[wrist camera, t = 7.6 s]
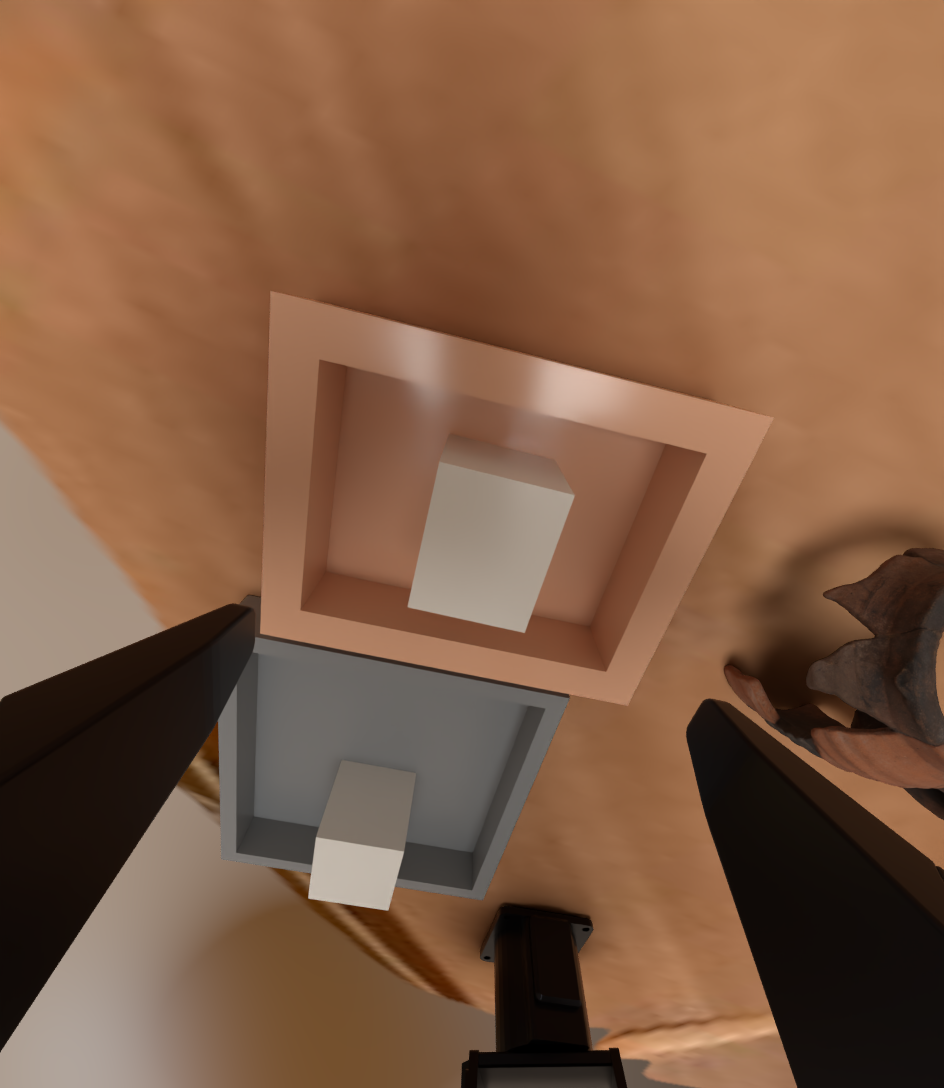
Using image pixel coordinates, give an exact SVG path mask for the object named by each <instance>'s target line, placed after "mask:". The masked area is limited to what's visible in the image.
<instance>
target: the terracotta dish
mask: <svg viewBox="0 0 944 1088" xmlns="http://www.w3.org/2000/svg"><path fill="white" fill-rule="evenodd" d="M773 419H774V418H773V417H769V416H766V415H762V414H759V413H755V412H752V411H748V410H745V409H741V408H737V407H734V406H730V405H727V404H723V403H720V402H716V401H712V400H708V399H704V398H700V397H696V396H692V395H689V394H685V393H681V392H677V391H673V390H669V389H665V388H661V387H657V386H653V385H649V384H645V383H641V382H637V381H633V380H629V379H625V378H621V377H617V376H613V375H609V374H606V373H602V372H598V371H594V370H590V369H586V368H582V367H578V366H574V365H570V364H566V363H562V362H558V361H554V360H550V359H546V358H542V357H538V356H534V355H530V354H527V353H523V352H519V351H515V350H511V349H507V348H503V347H499V346H495V345H491V344H487V343H483V342H479V341H475V340H471V339H467V338H463V337H459V336H455V335H451V334H447V333H444V332H440V331H436V330H432V329H428V328H424V327H420V326H416V325H412V324H408V323H404V322H400V321H396V320H392V319H388V318H384V317H380V316H376V315H372V314H368V313H365V312H361V311H357V310H353V309H349V308H345V307H341V306H337V305H333V304H329V303H325V302H321V301H317V300H313V299H308V298H303V297H298V296H294V295H289V294H284V293H280V292H275V291H271V294H270V327H269V360H268V393H267V426H266V459H265V492H264V525H263V557H262V590H261V623H260V634H264V635H269V636H275V637H280V638H285V639H290V640H295V641H300V642H305V643H310V644H315V645H321V646H326V647H331V648H336V649H341V650H346V651H351V652H356V653H361V654H366V655H372V656H377V657H382V658H387V659H392V660H397V661H402V662H407V663H412V664H417V665H423V666H428V667H433V668H438V669H443V670H448V671H453V672H458V673H463V674H469V675H474V676H479V677H484V678H489V679H494V680H499V681H504V682H509V683H514V684H520V685H525V686H530V687H535V688H540V689H545V690H550V691H555V692H560V693H565V694H571V695H576V696H581V697H586V698H591V699H596V700H601V701H606V702H611V703H617V704H622V705H627V706H628V704H629V702H630V700H631V698H632V696H633V694H634V692H635V690H636V688H637V686H638V684H639V682H640V680H641V678H642V676H643V674H644V672H645V670H646V668H647V666H648V664H649V662H650V661H651V659H652V657H653V655H654V653H655V651H656V649H657V647H658V645H659V643H660V641H661V639H662V637H663V635H664V633H665V631H666V629H667V627H668V625H669V623H670V621H671V619H672V617H673V615H674V613H675V611H676V609H677V607H678V605H679V604H680V602H681V600H682V598H683V596H684V594H685V592H686V590H687V588H688V586H689V584H690V582H691V580H692V578H693V576H694V574H695V572H696V570H697V568H698V566H699V564H700V562H701V560H702V558H703V556H704V554H705V552H706V550H707V549H708V547H709V545H710V543H711V541H712V539H713V537H714V535H715V533H716V531H717V529H718V527H719V525H720V523H721V521H722V519H723V517H724V515H725V513H726V511H727V509H728V507H729V505H730V503H731V501H732V499H733V497H734V495H735V493H736V492H737V490H738V488H739V486H740V484H741V482H742V480H743V478H744V476H745V474H746V472H747V470H748V468H749V466H750V464H751V462H752V460H753V458H754V456H755V454H756V452H757V450H758V448H759V446H760V444H761V442H762V440H763V438H764V436H765V435H766V433H767V431H768V429H769V427H770V425H771V423H772V421H773ZM449 433H450V434H454V435H458V436H462V437H466V438H470V439H474V440H478V441H482V442H486V443H489V444H493V445H497V446H501V447H505V448H509V449H513V450H517V451H521V452H525V453H529V454H533V455H537V456H541V457H545V458H549V459H552V460H555V461H556V463H557V465H558V467H559V468H560V470H561V472H562V474H563V475H564V477H565V479H566V481H567V482H568V484H569V486H570V488H571V489H572V491H573V493H574V495H575V496H574V499H573V502H572V505H571V507H570V510H569V513H568V516H567V518H566V521H565V524H564V527H563V529H562V532H561V535H560V538H559V540H558V543H557V546H556V548H555V551H554V554H553V557H552V559H551V562H550V565H549V568H548V570H547V573H546V576H545V579H544V581H543V584H542V587H541V590H540V592H539V595H538V598H537V601H536V603H535V606H534V609H533V611H532V614H531V617H530V620H529V622H528V625H527V628H526V631H525V633H523V632H518V631H513V630H509V629H504V628H500V627H495V626H491V625H486V624H482V623H477V622H473V621H468V620H463V619H459V618H454V617H450V616H445V615H441V614H436V613H432V612H427V611H422V610H418V609H413V608H409V607H408V602H409V597H410V593H411V588H412V584H413V579H414V575H415V570H416V566H417V561H418V556H419V552H420V547H421V543H422V538H423V534H424V529H425V524H426V520H427V515H428V511H429V506H430V502H431V497H432V493H433V488H434V483H435V479H436V474H437V470H438V465H439V461H440V458H441V455H442V453H443V450H444V447H445V444H446V441H447V438H448V436H449Z"/></svg>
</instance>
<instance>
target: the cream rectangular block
mask: <svg viewBox="0 0 944 1088" xmlns="http://www.w3.org/2000/svg"><path fill="white" fill-rule="evenodd" d="M574 496H575V495H574V493H573V491H572V489H571V488H570V486H569V484H568V482H567V481H566V479H565V477H564V475H563V474H562V472H561V470H560V468H559V467H558V465H557V463H556V461H555V460H552V459H549V458H545V457H541V456H537V455H533V454H529V453H525V452H521V451H517V450H513V449H509V448H505V447H501V446H497V445H493V444H489V443H486V442H482V441H478V440H474V439H470V438H466V437H462V436H458V435H454V434H450V433H449V436H448V438H447V441H446V444H445V447H444V450H443V453H442V455H441V458H440V461H439V465H438V470H437V474H436V479H435V483H434V488H433V493H432V497H431V502H430V506H429V511H428V515H427V520H426V524H425V529H424V534H423V538H422V543H421V547H420V552H419V556H418V561H417V566H416V570H415V575H414V579H413V584H412V588H411V593H410V597H409V602H408V607H409V608H413V609H418V610H422V611H427V612H432V613H436V614H441V615H445V616H450V617H454V618H459V619H463V620H468V621H473V622H477V623H482V624H486V625H491V626H495V627H500V628H504V629H509V630H513V631H518V632H523V633H525V631H526V628H527V625H528V622H529V620H530V617H531V614H532V611H533V609H534V606H535V603H536V601H537V598H538V595H539V592H540V590H541V587H542V584H543V581H544V579H545V576H546V573H547V570H548V568H549V565H550V562H551V559H552V557H553V554H554V551H555V548H556V546H557V543H558V540H559V538H560V535H561V532H562V529H563V527H564V524H565V521H566V518H567V516H568V513H569V510H570V507H571V505H572V502H573V499H574Z"/></svg>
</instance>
